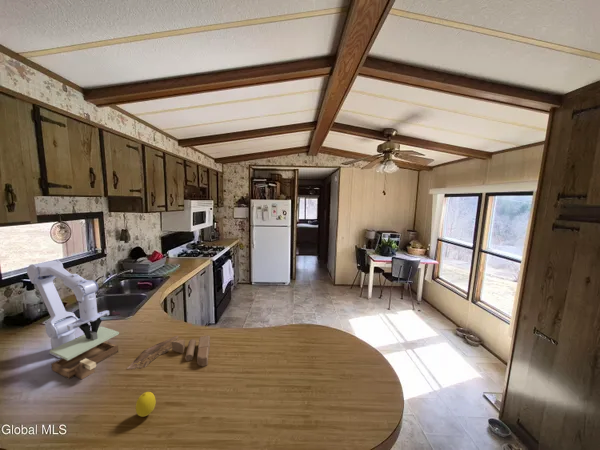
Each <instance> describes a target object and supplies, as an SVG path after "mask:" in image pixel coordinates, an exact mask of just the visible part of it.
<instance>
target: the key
mask: <svg viewBox="0 0 600 450" xmlns="http://www.w3.org/2000/svg"><path fill="white" fill-rule="evenodd" d="M80 363H82V364H83V367H85V368H87V369H89V370H91V369H93V368H96V367H97V364H96V362H93V361H91V360H89V359H86V358H85V359H83V360H81V361H80Z"/></svg>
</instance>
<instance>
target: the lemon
mask: <svg viewBox="0 0 600 450" xmlns="http://www.w3.org/2000/svg"><path fill="white" fill-rule="evenodd" d="M156 403H157V401H156V396H155V395H154V393H153V392H151V391H145V392H143V393H142V394H141V395H139V397H138V398H137V399H136V404H135V412H136V413H135V414H137V416H139V417H142V418H144V417H147V416H149V415H151V414H152V412H153V411H154V409H155V408H156Z"/></svg>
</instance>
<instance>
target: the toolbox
mask: <svg viewBox="0 0 600 450" xmlns="http://www.w3.org/2000/svg"><path fill="white" fill-rule="evenodd" d="M117 353H119V345H117V344H113V343H112V342H109V341H107V340H106V341H105V342H103V343H101V344H99V345H97V346H95V347H93V348H91V349H89V350H87V351H85V352H83V353H82V354H80V355H78V356H76V357H74V358H72V359H70V360H65V359H63V358H59V359H58V360H56V361H54V362H52V363H51V365H50V366H51V370H52V371H53V372H55V373H57V374H58V375H60V376H62V377H64V378H66V379H67V380H70V379H72V378H74V377H76V378H78V379H81V380H84V379H85V378H88V377H89V376H90V375H92V374H94V373H96V370H95V368H96V367H95V368H93V369H91V370H89V369H87V368H85V367H83V364H82V363H80V361H81V360H83V359H85V358H86V359H89V360H91V361H93V362H96V365H97V364H99V363H101V362H103V361H105V360H107V359H108V358H110V357H111V356H113V355H115V354H117Z"/></svg>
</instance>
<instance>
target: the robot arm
mask: <svg viewBox="0 0 600 450" xmlns="http://www.w3.org/2000/svg"><path fill="white" fill-rule="evenodd" d="M26 273H27V276H28V278H29V280H30V282H31V284H34V285H36V286H37V289H38V291H39V293H40V296H41V299H42V300H43V302H44V305H45V306H46V309H47V311H48V314H49V315H50V318H49V319H48V320H47V321H46V322H45V324H44V326H45V331H46V332H45V333H46V335H47V336H48V337H49V338H50V347H51V350H52V349H54V348H56V347H58V346H60V345H62V344H65V343H67V342H69V341H71V340H73V339H75V338H77V337H76V331H77V328H79V329H80V330H81V331H82V332H83V335H84V334H85V336H86V338H87V339H90V338H91V334H90V330H91V331H94V332H97V331H98V328H99V327H100V326H101V323H102V319H101V318H103V317H106V316H109V315H110V310H103V311H100V312H98V305H97V304H98V303H97V297H96V293H97V292H98V291H99V284H98V281H95V280H94V279H86V278H84V277H83V276H81V275H79V274H78V273H71V272H69V271H68V270H67V269H65V268H64V265H63V262H62V261H60V260H59V259H54V260H48V261H44V262H40V263H34V264H32V263H31V264H29V265H28V267H27V271H26ZM55 279H59V280H61V281H62V283H63V285H64V286H65V287H67V288H69V289H71V290H72V292H73V293H74V296H75V298H76V300H77V301H76V302H78V309H79V317H80V319H79V318H78V317H77V316H76V314H75V313H74V312H71V311H67V310H66V308H65V306H64V303H63V301H62V299H61V297H60V295H59V292H58V290H57V288H56V286H55V283H54V280H55ZM49 354H50V355H52V356H54V357H55V358H58V359H62V358H61V357H59V356H57V355H55V354H52V353H50V351H49Z"/></svg>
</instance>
